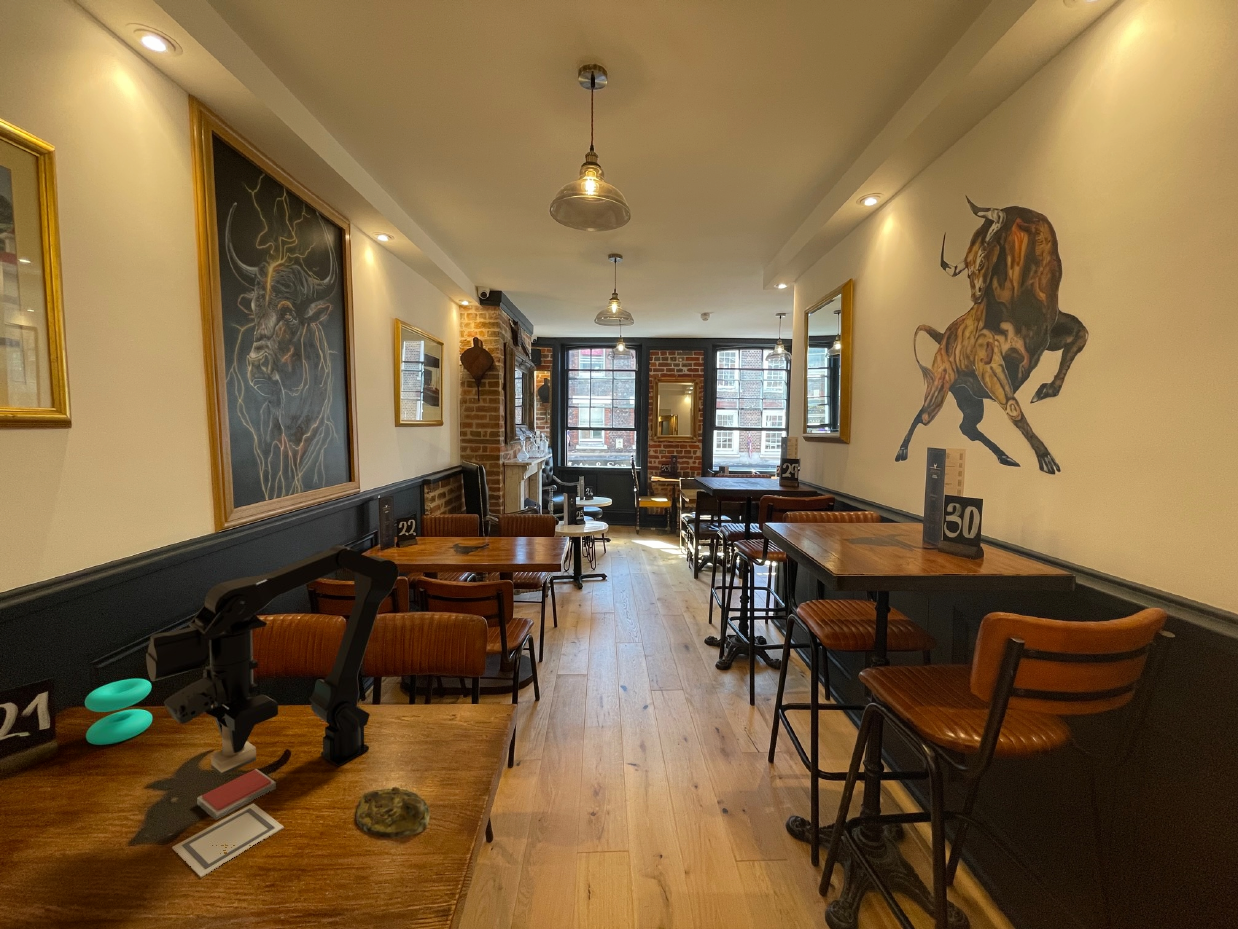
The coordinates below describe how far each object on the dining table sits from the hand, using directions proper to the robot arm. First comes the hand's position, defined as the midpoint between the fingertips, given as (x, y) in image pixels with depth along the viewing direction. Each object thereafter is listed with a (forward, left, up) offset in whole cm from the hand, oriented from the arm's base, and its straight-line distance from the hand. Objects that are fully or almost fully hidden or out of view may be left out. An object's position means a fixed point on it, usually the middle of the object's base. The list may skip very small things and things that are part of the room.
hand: (233, 748), depth 86 cm
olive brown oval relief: (-13, +24, -11) cm, 30 cm away
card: (+4, +7, -10) cm, 13 cm away
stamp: (0, 0, -3) cm, 3 cm away
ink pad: (-1, -2, -10) cm, 10 cm away
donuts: (+3, -44, -10) cm, 45 cm away
